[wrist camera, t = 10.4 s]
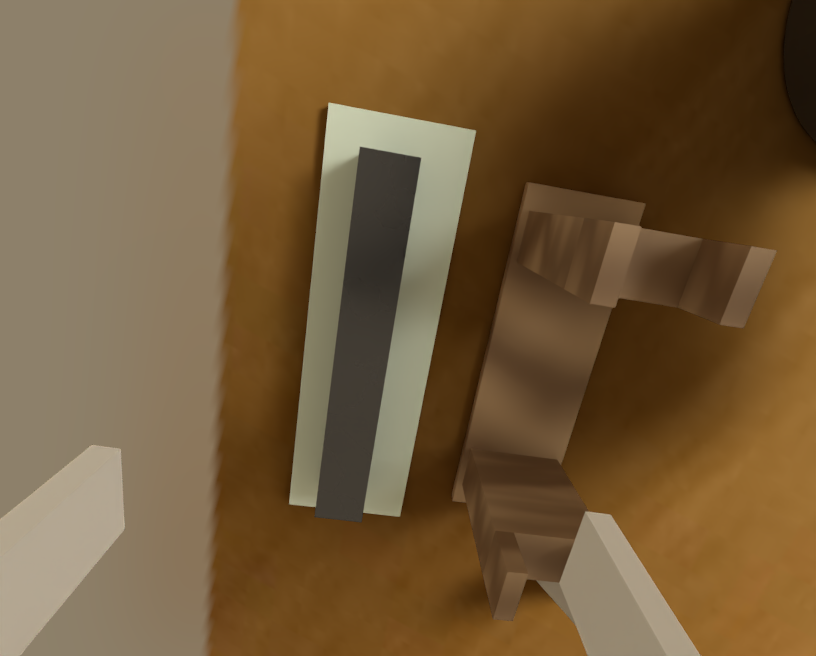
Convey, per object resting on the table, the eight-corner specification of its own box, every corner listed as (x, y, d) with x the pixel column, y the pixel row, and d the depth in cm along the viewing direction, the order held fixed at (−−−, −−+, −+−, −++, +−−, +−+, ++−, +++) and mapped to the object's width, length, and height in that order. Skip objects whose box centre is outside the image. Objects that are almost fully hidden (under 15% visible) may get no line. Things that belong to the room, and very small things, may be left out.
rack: (525, 182, 24) (617, 175, 14) (640, 203, 25) (805, 210, 15) (451, 495, 31) (478, 640, 21) (543, 506, 31) (612, 653, 21)
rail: (364, 152, 23) (359, 146, 20) (418, 161, 23) (421, 157, 20) (322, 485, 29) (314, 517, 27) (364, 490, 30) (361, 522, 27)
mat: (330, 105, 23) (328, 102, 22) (474, 132, 23) (476, 130, 23) (291, 498, 30) (288, 504, 30) (399, 510, 31) (399, 516, 31)
